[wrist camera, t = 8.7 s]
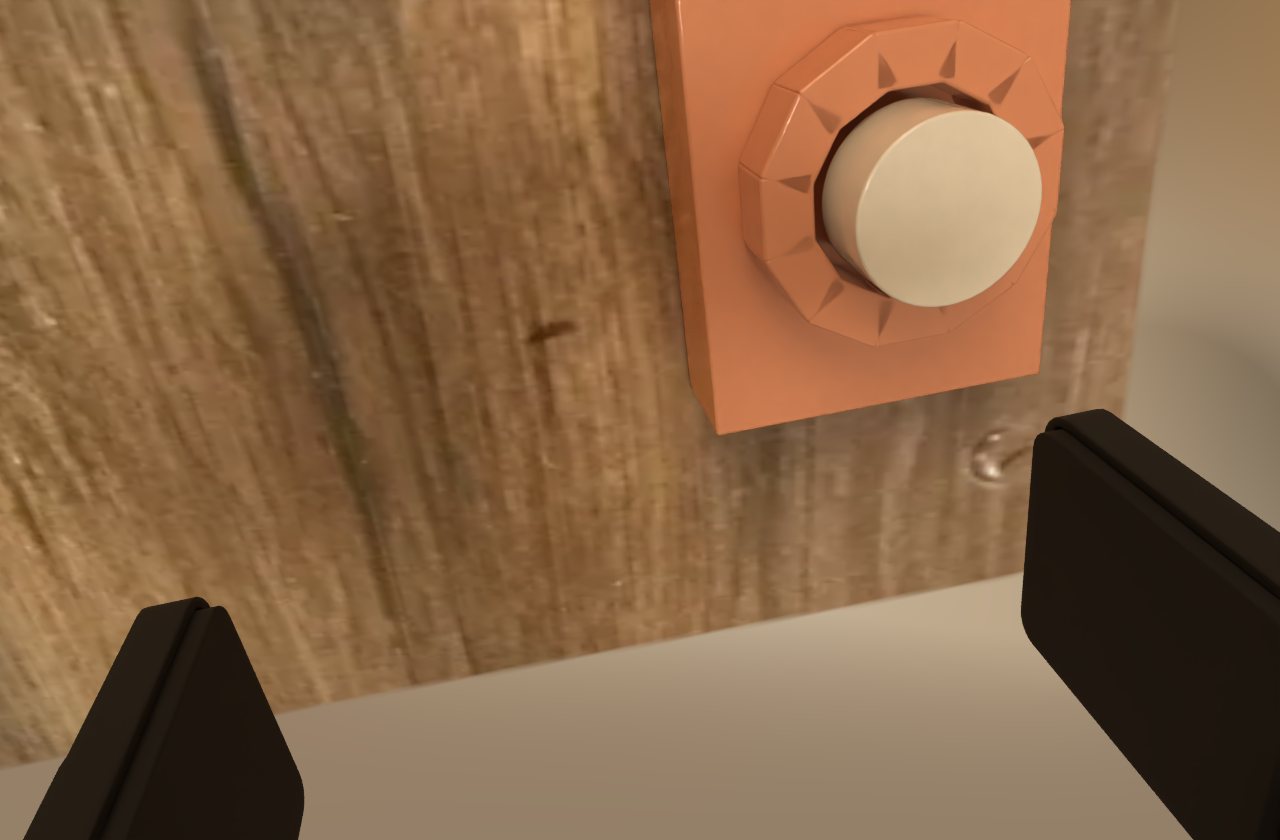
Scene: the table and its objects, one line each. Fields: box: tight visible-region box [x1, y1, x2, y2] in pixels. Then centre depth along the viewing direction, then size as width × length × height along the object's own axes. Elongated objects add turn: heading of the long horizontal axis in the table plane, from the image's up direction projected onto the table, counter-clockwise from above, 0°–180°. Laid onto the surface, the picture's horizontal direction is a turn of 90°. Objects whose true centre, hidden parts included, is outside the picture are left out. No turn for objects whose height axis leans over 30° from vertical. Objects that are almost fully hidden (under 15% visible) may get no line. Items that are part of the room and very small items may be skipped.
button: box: [822, 97, 1042, 307], centre depth 19 cm, size 4×4×2 cm
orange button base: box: [649, 0, 1071, 435], centre depth 22 cm, size 12×9×5 cm
